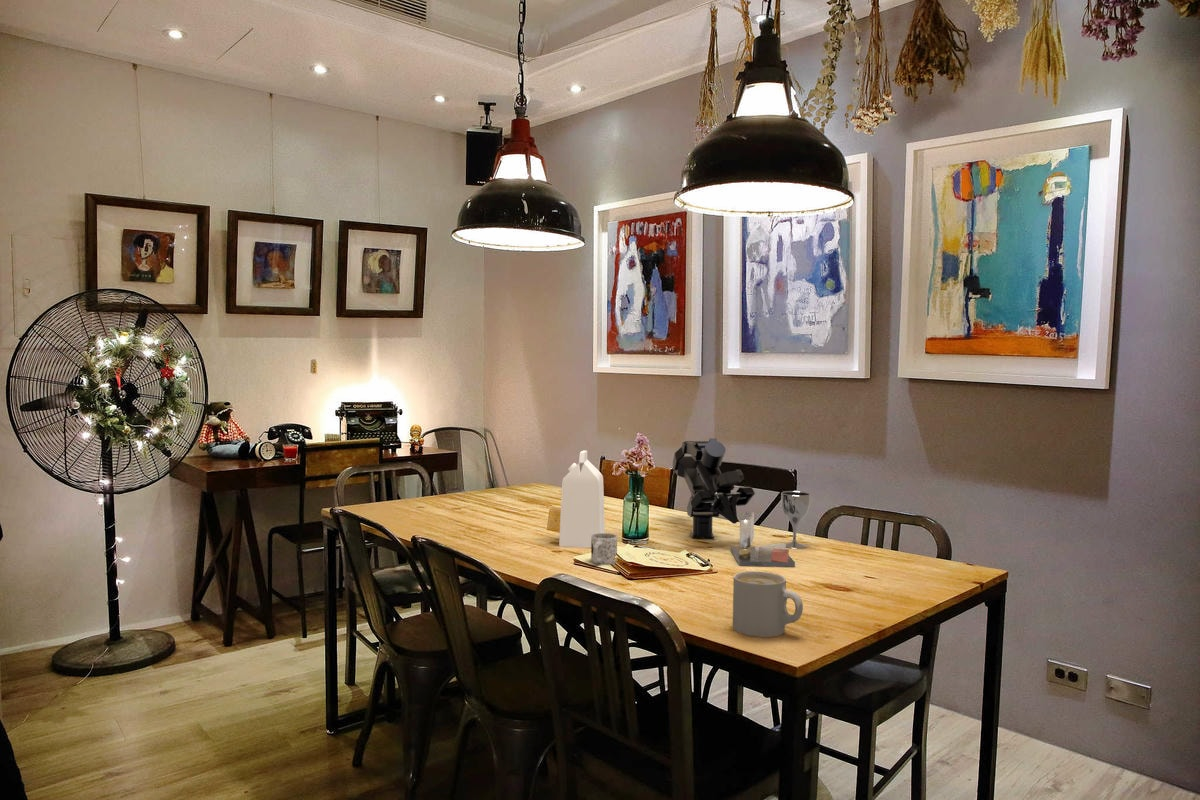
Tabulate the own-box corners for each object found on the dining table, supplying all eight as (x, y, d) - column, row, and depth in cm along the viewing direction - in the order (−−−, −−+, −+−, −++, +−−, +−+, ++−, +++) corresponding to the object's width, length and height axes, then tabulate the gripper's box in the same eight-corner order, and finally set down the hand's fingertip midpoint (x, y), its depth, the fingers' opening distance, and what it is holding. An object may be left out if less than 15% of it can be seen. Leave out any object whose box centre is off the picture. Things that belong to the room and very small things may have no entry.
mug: (596, 557, 215) (596, 532, 215) (620, 559, 213) (620, 534, 213) (582, 566, 206) (582, 539, 206) (606, 568, 204) (607, 542, 203)
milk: (600, 548, 226) (601, 454, 225) (559, 546, 227) (560, 453, 226) (605, 539, 238) (606, 449, 237) (565, 537, 239) (566, 448, 238)
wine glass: (806, 543, 235) (807, 491, 235) (810, 549, 228) (812, 495, 227) (778, 542, 236) (779, 490, 236) (781, 548, 228) (783, 495, 228)
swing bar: (749, 548, 210) (750, 520, 210) (738, 547, 211) (739, 520, 211) (755, 537, 223) (755, 512, 222) (744, 537, 224) (745, 511, 223)
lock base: (730, 550, 225) (730, 537, 225) (781, 551, 225) (782, 538, 224) (739, 566, 208) (739, 552, 207) (795, 567, 207) (795, 553, 207)
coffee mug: (722, 628, 159) (723, 577, 158) (750, 617, 166) (751, 568, 165) (783, 645, 149) (784, 591, 149) (810, 632, 157) (811, 581, 156)
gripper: (697, 461, 225) (721, 507, 215) (751, 458, 233) (776, 503, 224) (680, 486, 232) (702, 532, 223) (733, 482, 241) (757, 526, 232)
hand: (735, 522), depth 225 cm, fingers closed
